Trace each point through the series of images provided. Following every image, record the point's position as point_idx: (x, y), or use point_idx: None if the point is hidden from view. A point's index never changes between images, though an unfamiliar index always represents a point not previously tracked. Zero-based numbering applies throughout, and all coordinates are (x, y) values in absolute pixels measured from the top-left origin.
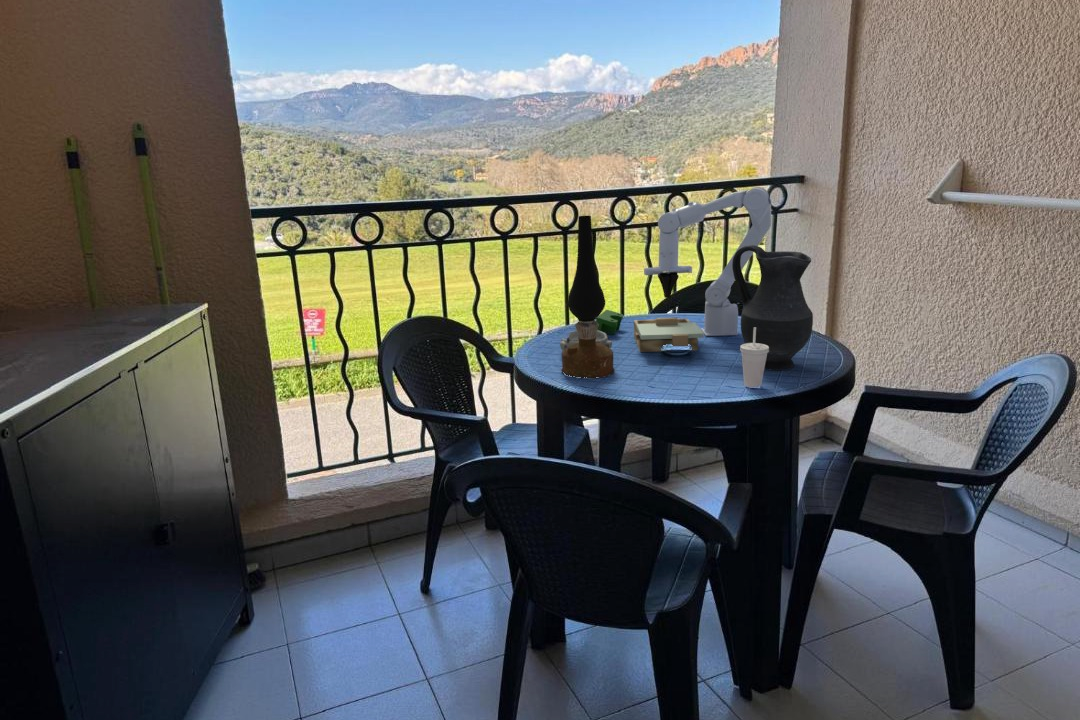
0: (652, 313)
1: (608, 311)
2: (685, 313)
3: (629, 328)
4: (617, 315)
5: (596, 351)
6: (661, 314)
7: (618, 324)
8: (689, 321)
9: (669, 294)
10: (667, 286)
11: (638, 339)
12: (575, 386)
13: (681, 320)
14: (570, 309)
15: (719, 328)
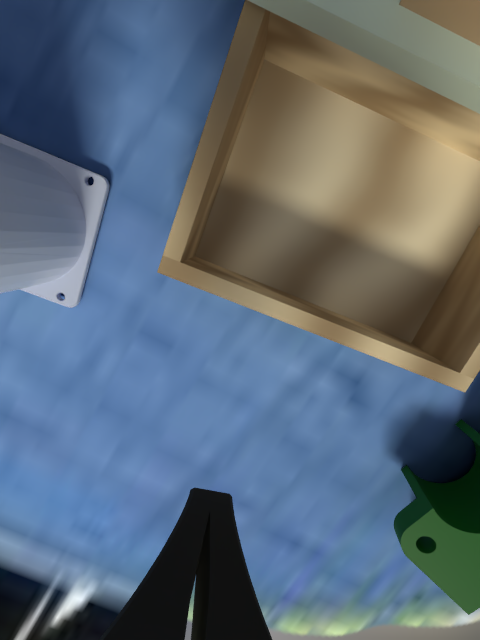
0: None
1: (475, 586)
2: (22, 564)
3: (349, 470)
4: (449, 530)
5: None
6: (120, 588)
7: (420, 486)
8: (185, 190)
9: (202, 511)
10: (229, 610)
11: None
12: None
13: (204, 271)
14: None
15: (11, 147)
